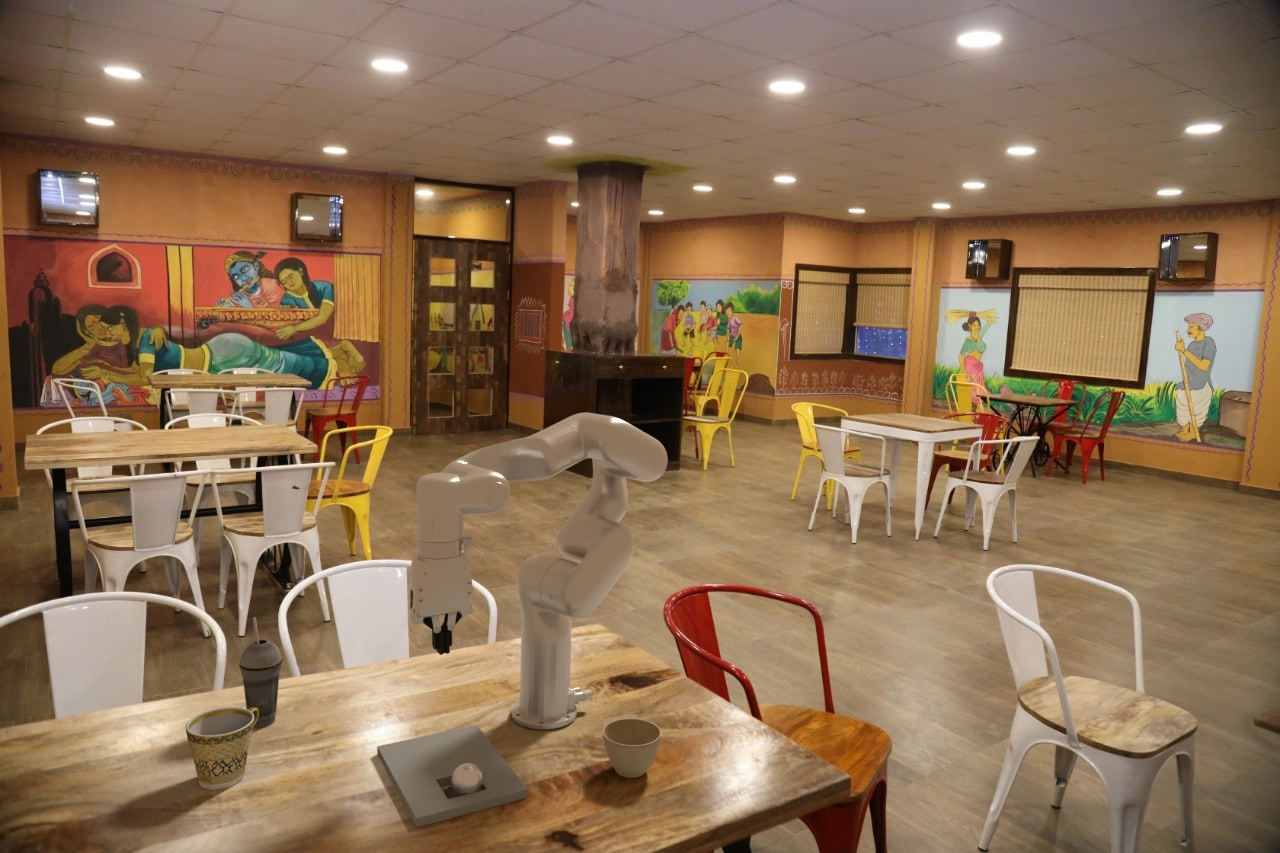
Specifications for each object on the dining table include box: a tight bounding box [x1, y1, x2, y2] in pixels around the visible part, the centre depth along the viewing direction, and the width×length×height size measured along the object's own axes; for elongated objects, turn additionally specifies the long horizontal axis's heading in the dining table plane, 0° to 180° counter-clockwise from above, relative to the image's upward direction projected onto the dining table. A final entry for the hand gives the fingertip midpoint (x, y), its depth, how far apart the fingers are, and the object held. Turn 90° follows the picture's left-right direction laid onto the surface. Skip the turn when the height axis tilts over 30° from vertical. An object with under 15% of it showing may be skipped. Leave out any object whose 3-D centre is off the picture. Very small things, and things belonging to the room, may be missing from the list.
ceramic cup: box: [185, 706, 259, 791], centre depth 142 cm, size 13×10×10 cm
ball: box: [450, 763, 483, 796], centre depth 139 cm, size 5×5×5 cm
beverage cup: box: [238, 616, 283, 729], centre depth 159 cm, size 7×7×20 cm
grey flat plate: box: [376, 724, 529, 828], centre depth 145 cm, size 18×24×2 cm
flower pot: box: [602, 717, 662, 779], centre depth 148 cm, size 10×10×7 cm
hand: (442, 651), depth 148 cm, fingers closed
